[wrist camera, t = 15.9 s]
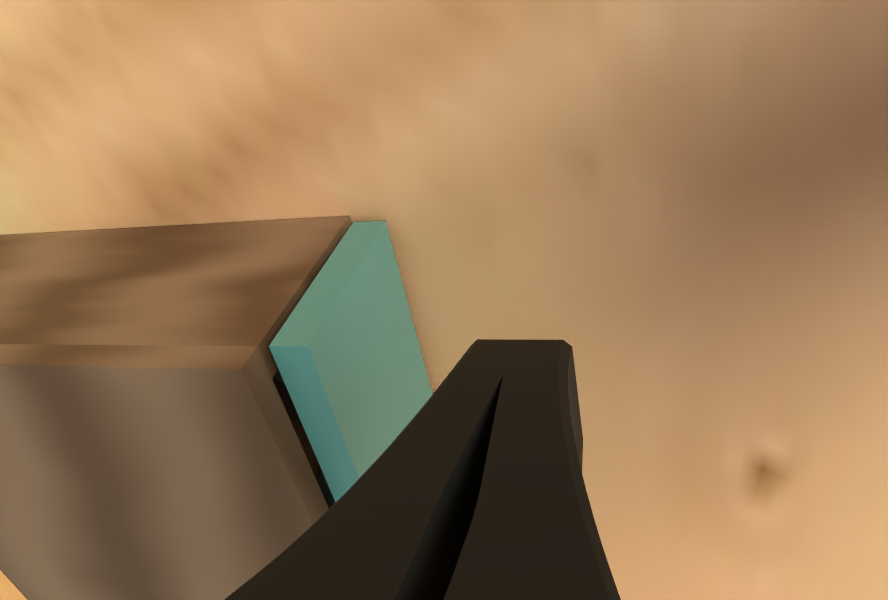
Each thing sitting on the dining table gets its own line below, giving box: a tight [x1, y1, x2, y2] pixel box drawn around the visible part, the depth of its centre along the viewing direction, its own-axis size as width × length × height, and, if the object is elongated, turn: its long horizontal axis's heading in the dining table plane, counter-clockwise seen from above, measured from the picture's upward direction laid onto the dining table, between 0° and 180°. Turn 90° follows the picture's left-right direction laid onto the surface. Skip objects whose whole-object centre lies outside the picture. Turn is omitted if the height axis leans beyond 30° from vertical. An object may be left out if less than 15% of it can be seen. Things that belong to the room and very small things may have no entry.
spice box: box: [0, 216, 352, 600], centre depth 25 cm, size 14×16×7 cm
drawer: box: [269, 221, 433, 509], centre depth 24 cm, size 14×16×6 cm
